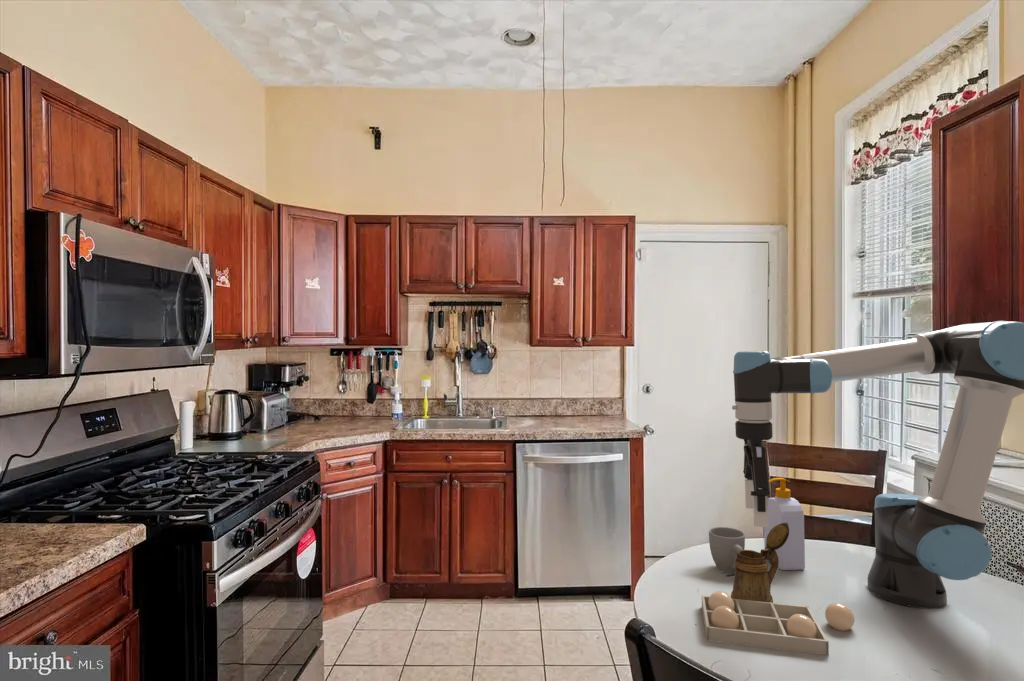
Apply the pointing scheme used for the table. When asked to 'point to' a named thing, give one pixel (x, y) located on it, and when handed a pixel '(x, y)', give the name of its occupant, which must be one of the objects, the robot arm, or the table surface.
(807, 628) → the seated egg
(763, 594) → the wooden mug
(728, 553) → the mug
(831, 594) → the table surface
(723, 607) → the seated egg
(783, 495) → the soap bottle
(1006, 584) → the table surface
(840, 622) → the egg
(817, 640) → the carton
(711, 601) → the seated egg
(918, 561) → the robot arm
